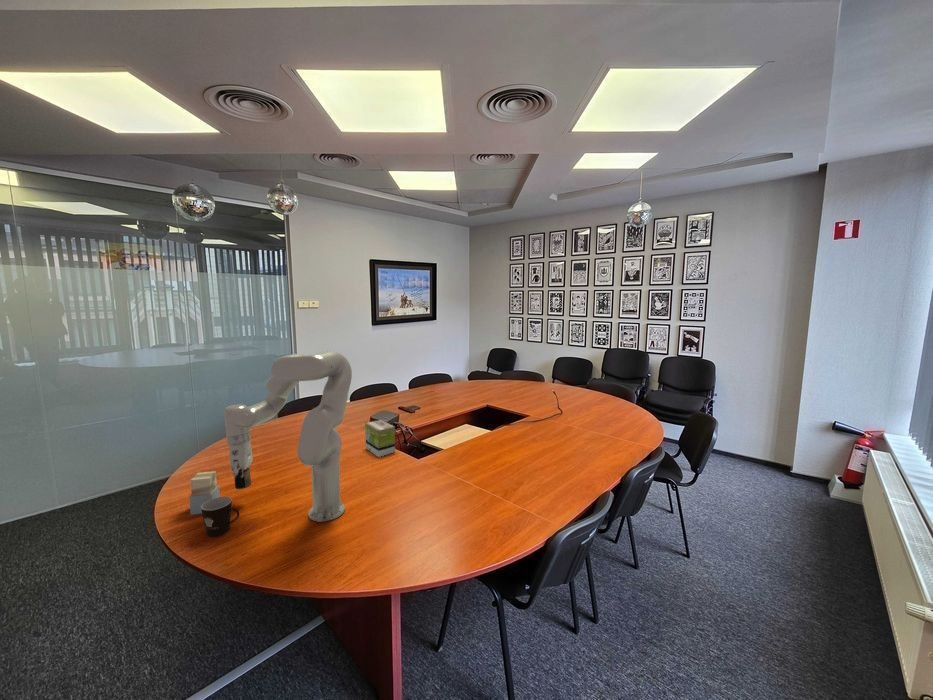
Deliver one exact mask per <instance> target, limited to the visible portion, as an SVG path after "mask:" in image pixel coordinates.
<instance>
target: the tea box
mask: <svg viewBox="0 0 933 700" xmlns="http://www.w3.org/2000/svg"><path fill="white" fill-rule="evenodd" d="M364 427H365V428H364V429H365V449H366V450H367V451H369V452H370V453H372V454H373V455H374V456H376V457H377V458H381V456H382V457H385V456H384V455H386V456H388V455H387V454H389V455H391V454H390V453H393V452H395V453H396V427H395V425H393V424H390V422H386V420H383V419H379V420H374V421H373V420H372V421H370V422H366V423H364ZM393 454H394V453H393Z"/></svg>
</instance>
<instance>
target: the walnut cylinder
mask: <svg viewBox="0 0 933 700" xmlns="http://www.w3.org/2000/svg"><path fill="white" fill-rule="evenodd" d="M238 472H240V473H241V471H238ZM243 477H245V485H246V486H245V487H244V488H237V489H236V490H243V489H247V488H249V487H251V485H252V478H251V469H250V468H247V469H245V470H244V476H243Z"/></svg>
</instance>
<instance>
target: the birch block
mask: <svg viewBox="0 0 933 700" xmlns="http://www.w3.org/2000/svg"><path fill="white" fill-rule="evenodd" d="M217 484H218V483H217V471H215V470H214V471H204V472H197V473H196V474H195V475H194V476H193V477H192V478H191V479H190V490H191V491H190V492H191V493H190V495H191V494H192V496H196V495H205V494H211V493H212V492H213V490H214V489H215V488H216V487H217V486H218V485H217Z"/></svg>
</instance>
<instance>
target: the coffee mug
mask: <svg viewBox="0 0 933 700" xmlns="http://www.w3.org/2000/svg"><path fill="white" fill-rule="evenodd" d="M232 505H233V498H232V497H229V496H220V497H218V498H214V499H211V500H208V501H206V502H205V503H203V504H202V505H201V510H202V514H201V515H202V518H203V522H204V527H205V532H206V536H207V537H208V538H217V537H220V536H224V535H225V534H227V533H228V532H229V531H230V529H231V524H233V522H236V521H237V520H238V519H239V517H240V512H239V510H238V509H237V508H235V507H232ZM232 511H234V512H236V517H235V518H233V520H231V517H232Z"/></svg>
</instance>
